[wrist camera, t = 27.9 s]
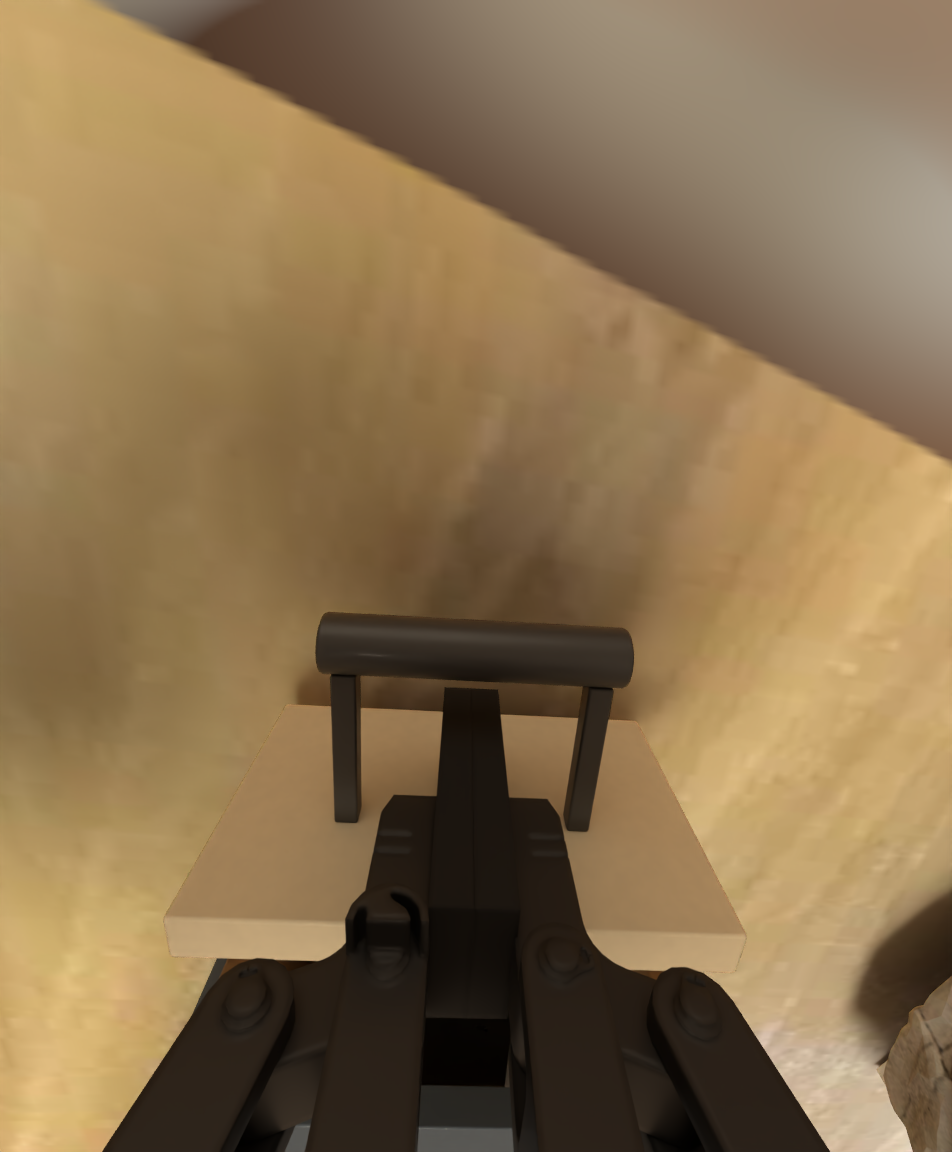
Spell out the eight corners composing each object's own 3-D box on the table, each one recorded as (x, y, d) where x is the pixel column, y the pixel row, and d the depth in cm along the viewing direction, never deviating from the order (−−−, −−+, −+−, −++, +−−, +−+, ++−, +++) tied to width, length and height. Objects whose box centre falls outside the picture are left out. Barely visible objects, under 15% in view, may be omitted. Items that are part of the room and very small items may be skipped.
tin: (392, 836, 19) (370, 968, 14) (519, 842, 19) (535, 974, 15) (388, 942, 21) (368, 1088, 16) (504, 947, 21) (514, 1092, 16)
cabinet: (285, 801, 21) (142, 1123, 12) (622, 815, 21) (740, 1133, 12) (303, 1062, 26) (217, 1417, 17) (570, 1067, 27) (623, 1415, 18)
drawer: (275, 545, 16) (114, 676, 9) (667, 569, 17) (827, 711, 9) (305, 999, 23) (230, 1281, 16) (578, 1006, 24) (629, 1283, 16)
